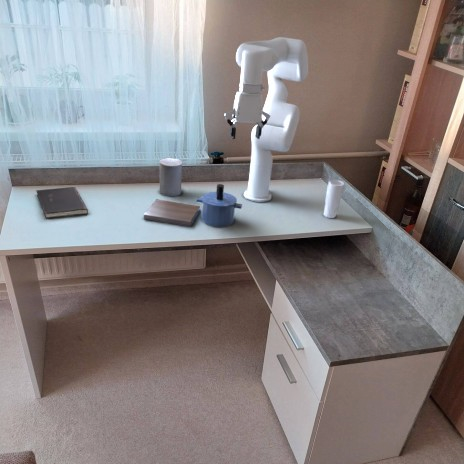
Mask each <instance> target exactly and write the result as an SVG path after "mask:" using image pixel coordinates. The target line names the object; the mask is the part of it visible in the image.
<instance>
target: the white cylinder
mask: <svg viewBox="0 0 464 464" xmlns="http://www.w3.org/2000/svg"><path fill="white" fill-rule="evenodd" d="M344 190H345V182H344V181H342V180H339V179H329V181H328V182H327V187H326V193H325V202H324V209H323V216H324V217H325V218H328V219H334V218H336V217H337V212H338V209H339V206H340V203H341V200H342V197H343V194H344Z"/></svg>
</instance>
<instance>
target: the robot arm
mask: <svg viewBox="0 0 464 464" xmlns="http://www.w3.org/2000/svg"><path fill="white" fill-rule="evenodd" d="M308 56H309V54H308V49H307V45H306V43H305V41H303V39H298V38H290V37H283V36H278V37H275V38H273V39H270V40H269V39H267V40H253V41H252V40H251V41H245V42H242V43H241V44H240V45H239V46H238V48H237V50H236V53H235V61H236V64H237V66H239V68H240V80H239V90H237V91H236V94H235V98H234V102H233V108H232V109H230V110H229V111H227V112H225V113H224V114H223V115H224V118H225V121H226V123H227V124H228V125H229V126H230V128H229V136H230V138H231V139H232V140H235V139H236V135H237V133H236V132H237V127H236V126H237V125H238V124H239V123H240V124H242V123H243V124H256V125H254V127H253V128H252V130H251V133H250V134H251V135H250V139H251V140H250V141H251V154H250V166H249V176H248V184H247V189H246V190H245V191H244V192H243V197H244V198H245V199H246V200H248V201H252V202H258V203H265V202H268V201H270V200H271V199H272V193H271V192H270V185H271V178H272V170H273V169H272V168H273V162H274V158H273V154H272V152H271V151H274V152H279V153H287V152H289V151H290V149H291V147H292V145H293V141H294V138H295V135H296V132H297V130H298V129H297V128H298V125H299V122H300V115H301V114H300V113H301V111H300V108H299V106H297V105H295V104H294V103H289V102H287V100H288V97H289V91H288V89H287V86H286V84H285V83H284V81H283V80H286V81H291V82H298V83H299V82H303V81H305V80H306V79H307V77H308V75H309V71H310V70H309V69H310V68H309V66H310V65H309V57H308ZM264 72H266V73H267V82H268V93H267V96H266V98H265V101H264V105H263V93H262V91H263V90H264V91H265V88H266V86H265V85H263V83H262V82H263V74H264ZM231 116H232V120H231V118H230V117H231Z"/></svg>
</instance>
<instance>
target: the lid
mask: <svg viewBox="0 0 464 464" xmlns="http://www.w3.org/2000/svg"><path fill="white" fill-rule="evenodd" d="M224 191H225V185H224V184H222V183H218V184H216V191H210V192H207V193H204V194H203V195H202V196H201V198H202V201H203V202H204V203H206V204H207V205H210V206H214V207H230V206H233V205H235V204H236V203H238V199H237V197H236V196H235V195H233V194H231V193H227V192H224Z"/></svg>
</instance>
